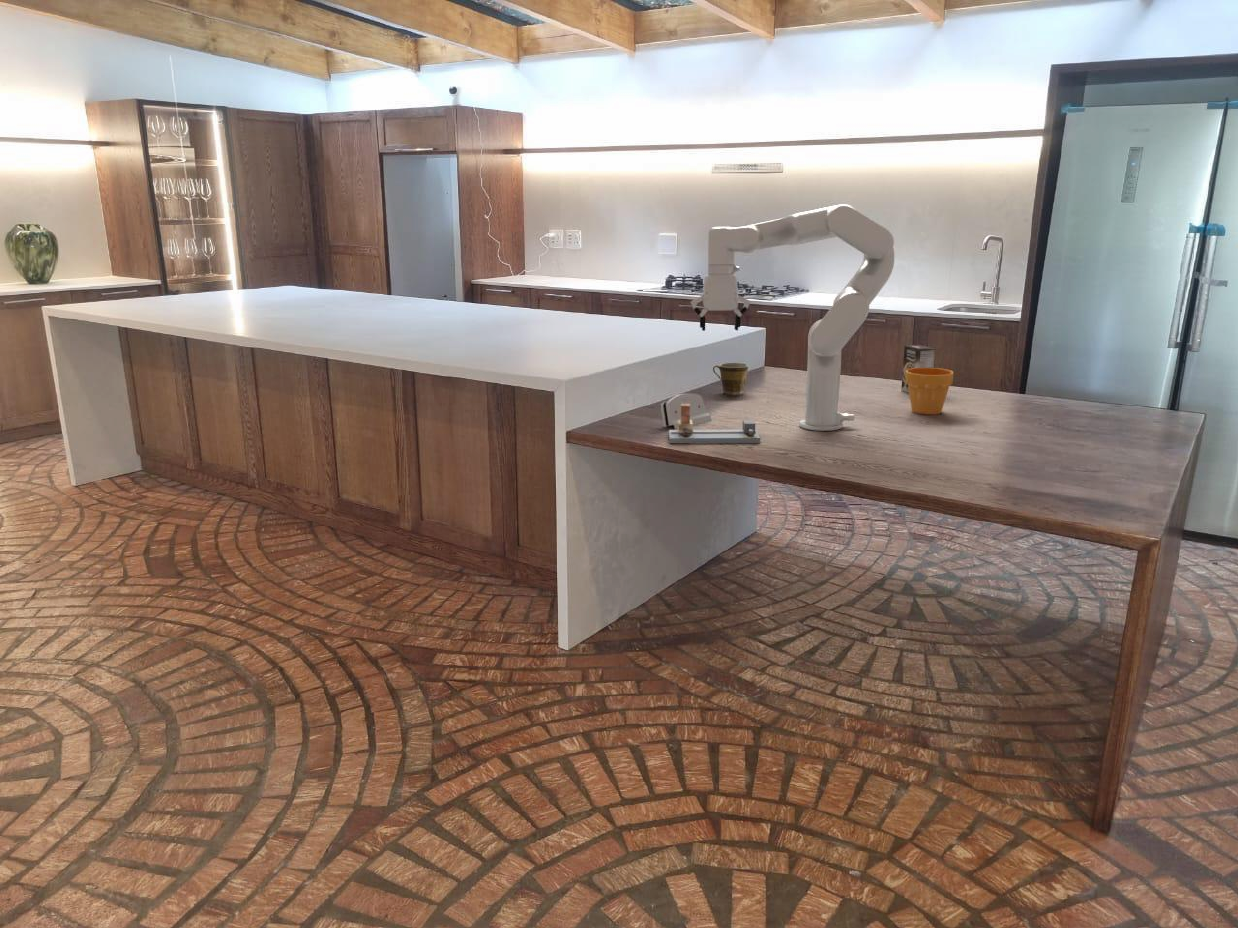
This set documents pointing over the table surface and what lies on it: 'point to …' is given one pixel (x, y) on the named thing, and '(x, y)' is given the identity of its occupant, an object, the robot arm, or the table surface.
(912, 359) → the coffee box
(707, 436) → the gauge board
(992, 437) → the table surface
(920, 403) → the flower pot
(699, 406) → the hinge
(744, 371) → the ceramic cup
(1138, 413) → the table surface
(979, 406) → the table surface
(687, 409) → the block
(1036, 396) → the table surface
